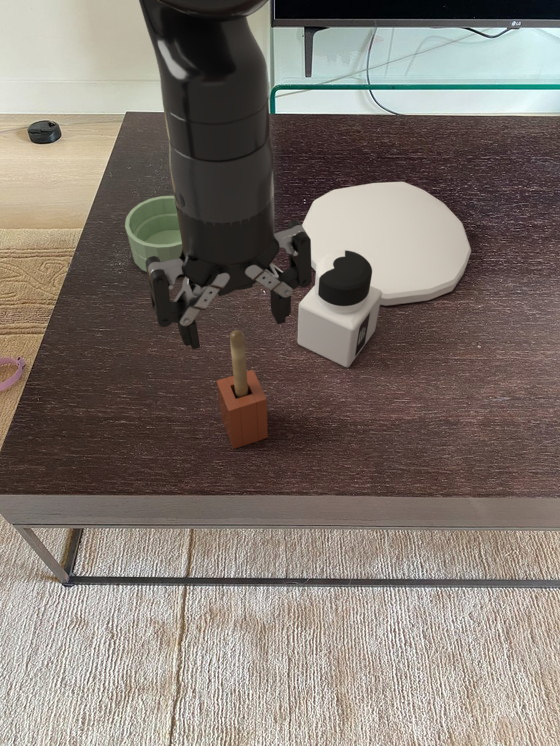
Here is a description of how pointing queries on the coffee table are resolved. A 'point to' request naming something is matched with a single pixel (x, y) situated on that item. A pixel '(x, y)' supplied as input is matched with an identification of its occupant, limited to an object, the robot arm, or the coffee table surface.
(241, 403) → the utensil block
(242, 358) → the cooking stick
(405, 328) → the coffee table surface
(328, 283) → the container
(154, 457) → the coffee table surface
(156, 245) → the bowl
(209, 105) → the robot arm
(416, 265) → the decorative plate
